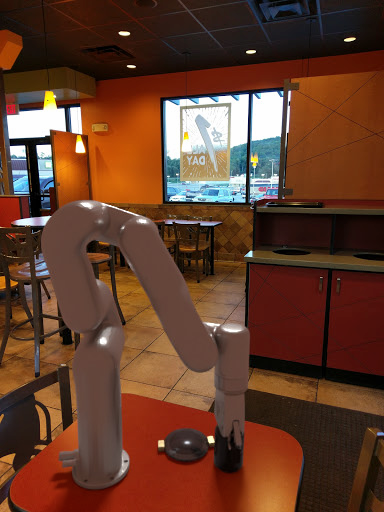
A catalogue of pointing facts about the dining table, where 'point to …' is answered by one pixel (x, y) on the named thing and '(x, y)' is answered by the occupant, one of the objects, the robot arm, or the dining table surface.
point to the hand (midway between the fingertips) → (228, 450)
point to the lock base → (186, 444)
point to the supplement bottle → (220, 453)
